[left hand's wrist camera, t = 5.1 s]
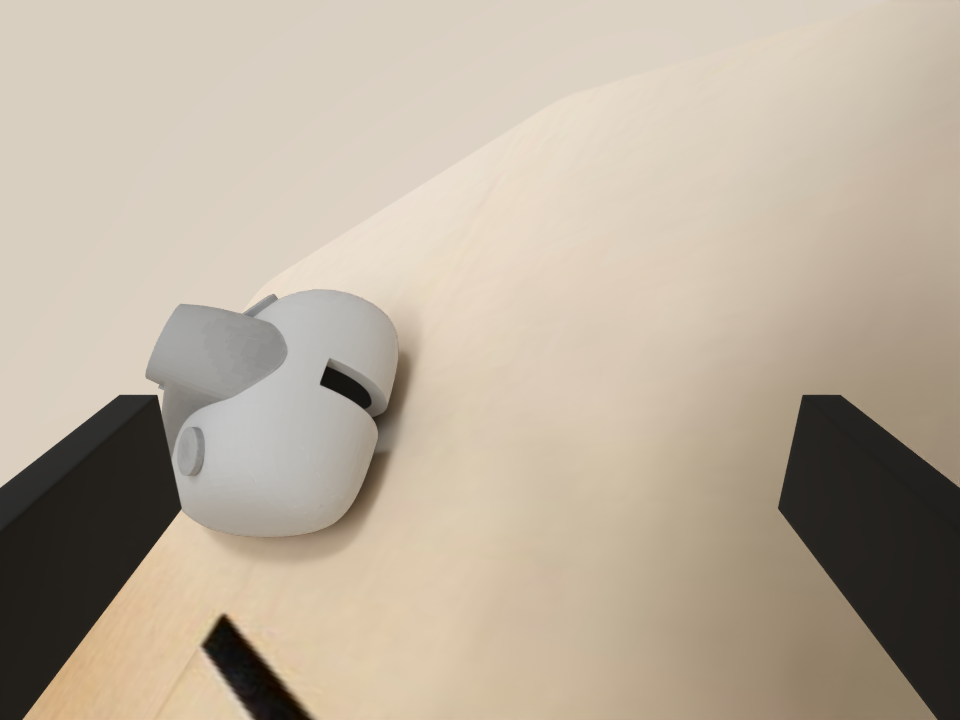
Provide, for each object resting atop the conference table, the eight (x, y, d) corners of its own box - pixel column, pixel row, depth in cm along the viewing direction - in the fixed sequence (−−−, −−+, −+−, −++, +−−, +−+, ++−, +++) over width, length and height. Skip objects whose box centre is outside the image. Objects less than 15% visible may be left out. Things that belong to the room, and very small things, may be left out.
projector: (362, 289, 55) (226, 173, 46) (484, 401, 37) (299, 246, 28) (198, 475, 55) (28, 394, 46) (241, 681, 37) (-27, 613, 28)
